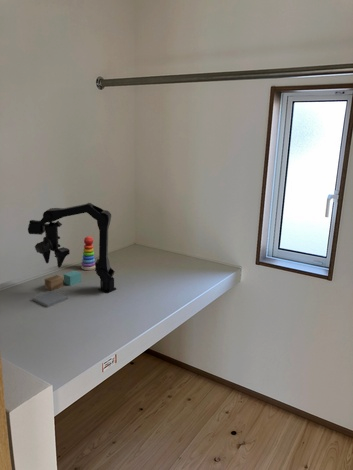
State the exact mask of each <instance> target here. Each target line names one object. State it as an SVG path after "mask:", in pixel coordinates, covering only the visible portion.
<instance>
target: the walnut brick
mask: <svg viewBox="0 0 353 470" xmlns="http://www.w3.org/2000/svg"><path fill="white" fill-rule="evenodd" d="M63 287H64V276H63V277H62V276H60V275H57V274H55V275H53V276H49V277H46V278H44V288H45V289H46V290H48V291H52V290H53V291H55V290H57V289H60V288H63Z"/></svg>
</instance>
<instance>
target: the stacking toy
mask: <svg viewBox="0 0 353 470" xmlns="http://www.w3.org/2000/svg"><path fill="white" fill-rule="evenodd" d="M83 242H84V246H83V252H82V254H83V255H82V259H81V266H80V267H81V269H82V270H85V271H92V270H95V268H96V267H95V262H96V259H95V251H94V245H93V243H94V238H93V237H92V236H90V235H89V236H86V237H84V239H83Z"/></svg>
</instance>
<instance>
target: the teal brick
mask: <svg viewBox="0 0 353 470" xmlns="http://www.w3.org/2000/svg"><path fill="white" fill-rule="evenodd" d="M81 282H82V272H79V271H76V270H72V271H69V272H66V273H64V274H63V284H64V285H68V286H70V287H71V286H74V285H76V284H78V283H81Z"/></svg>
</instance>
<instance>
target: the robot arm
mask: <svg viewBox="0 0 353 470" xmlns="http://www.w3.org/2000/svg"><path fill="white" fill-rule="evenodd" d="M86 213H87V214H88V215H89V216H90V217H92V218H93V219H94V220H96V222H97V223H96V224H97V228H98V230H99V231H98V232H99V243H98V246H99V247H98V248H99V249H98V250H99V251H98V254H99V255H98V258H97V259H96V260H95V261H94V262H95V269H94V271H95V273H96V275H97V276H98V277H99V279H100V283H99V284H100V286H99V287H98V291H101V292H104V293H105V294H106V293H107V294H108V293H111V292H114V291H115V290H117V288H116V287H115V277H114V274H115V273H116V272H115V271H114V269H113V268H111V264H110V262H111V261H110V259H109V257H108V256H109V254H108V253H109V228H110V224H111V220H112V213H111V212H110V211H108V210H105V209H103V208H101V207H99V206H97V205H94V204H93V203H91V202H87V203H84V204H79V205H74V206H68V207H64V208H62V207H51V208H49V209H47V210H46V211H43V213H42V217H41V219H40V220H37V219H31V220H29V224H28V226H27V232H28V234H29V235H37V236H38V235H41V236H42V235H43V234H45V236H44V237H43V239H42V241H40V242H37V243H36V244H35V245H34V249H35V251H36V253H39V254H42V257H43V258H44V262H45V264H49V262H50V257H51V252H54V253H53V254H54V257H55V258H56V261H57V262H56V264H57V269H61V268H62V265H63V263H64V261H65V259H66V257H68V256H69V255H70V251H71V250H70V249H69V248H67V247H64V246H63V247H62V246H61V244H60V243H59V240H60V239H61V236H59V232H58V231H59V230H58V228H60V227H62V226H63V223H61V222H60V221H59V220H60V219H62V218H65V217H70V216H75V215H80V214H86Z"/></svg>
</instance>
